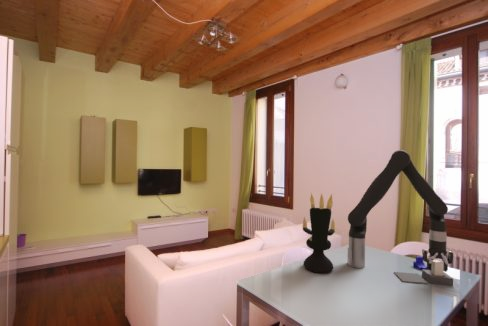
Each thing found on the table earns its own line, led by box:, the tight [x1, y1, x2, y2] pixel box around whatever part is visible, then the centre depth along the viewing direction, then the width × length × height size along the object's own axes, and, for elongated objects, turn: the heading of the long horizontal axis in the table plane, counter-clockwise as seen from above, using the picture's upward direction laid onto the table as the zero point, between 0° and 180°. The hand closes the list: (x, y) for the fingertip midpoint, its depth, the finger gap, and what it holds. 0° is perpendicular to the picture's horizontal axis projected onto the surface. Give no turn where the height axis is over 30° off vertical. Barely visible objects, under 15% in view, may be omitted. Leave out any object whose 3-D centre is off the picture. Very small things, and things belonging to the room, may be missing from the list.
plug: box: [431, 259, 444, 276], centre depth 142 cm, size 4×4×10 cm
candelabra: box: [302, 192, 336, 274], centre depth 154 cm, size 19×22×45 cm
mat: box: [393, 271, 429, 285], centre depth 144 cm, size 12×12×1 cm
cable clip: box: [412, 256, 428, 271], centre depth 156 cm, size 12×4×6 cm, turn 0°
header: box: [421, 269, 454, 286], centre depth 142 cm, size 10×10×4 cm
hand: (437, 270), depth 142 cm, fingers open, 6 cm apart
